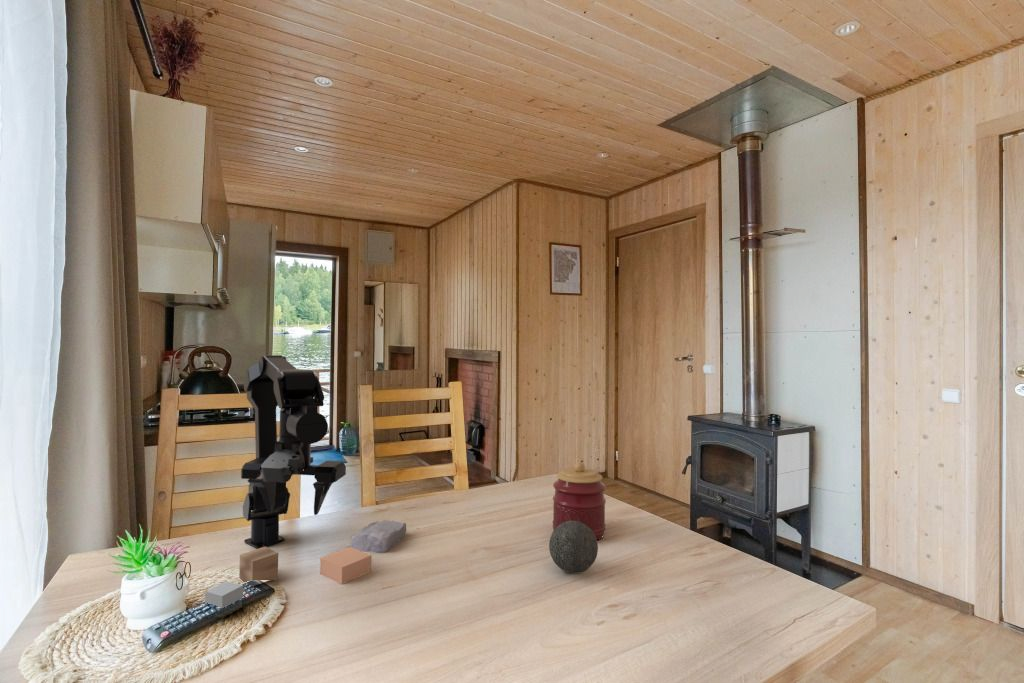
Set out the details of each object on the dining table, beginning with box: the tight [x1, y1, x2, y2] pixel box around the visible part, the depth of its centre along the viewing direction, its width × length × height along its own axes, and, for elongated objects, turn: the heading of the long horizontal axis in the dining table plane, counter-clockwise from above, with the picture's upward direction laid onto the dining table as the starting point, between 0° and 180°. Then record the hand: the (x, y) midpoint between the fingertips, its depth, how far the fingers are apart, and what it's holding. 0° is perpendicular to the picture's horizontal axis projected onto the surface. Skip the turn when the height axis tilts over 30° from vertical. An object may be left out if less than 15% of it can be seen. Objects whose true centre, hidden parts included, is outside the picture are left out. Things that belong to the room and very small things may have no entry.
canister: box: [552, 461, 607, 540], centre depth 123 cm, size 13×13×18 cm
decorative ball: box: [548, 521, 599, 574], centre depth 103 cm, size 10×10×10 cm
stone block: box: [350, 519, 407, 554], centre depth 116 cm, size 12×5×10 cm
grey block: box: [204, 580, 244, 608], centre depth 86 cm, size 4×4×4 cm
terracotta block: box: [319, 546, 372, 585], centre depth 101 cm, size 7×7×4 cm
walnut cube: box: [239, 546, 279, 583], centre depth 97 cm, size 5×5×5 cm
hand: (293, 513), depth 98 cm, fingers open, 9 cm apart
